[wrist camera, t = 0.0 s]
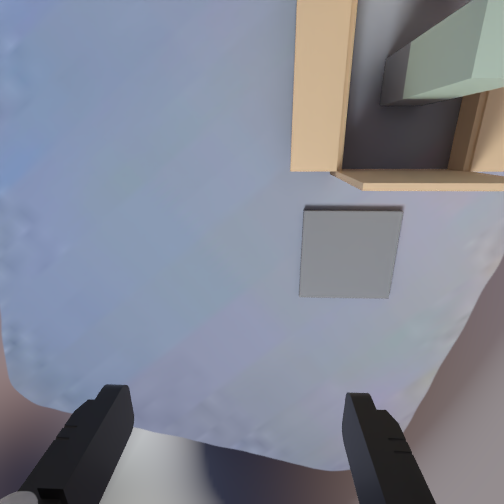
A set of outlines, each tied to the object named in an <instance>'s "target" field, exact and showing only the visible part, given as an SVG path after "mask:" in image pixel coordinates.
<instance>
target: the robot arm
mask: <svg viewBox="0 0 504 504" xmlns="http://www.w3.org/2000/svg"><path fill="white" fill-rule="evenodd" d="M133 424H134V412H133V407H132V402H131V396H130V391H129V387H128V386H127V385H109V384H107V385H105V386H104V387H103V388H102V389H101V391H100V392H99V394H98V395H97V397H96V399H95V400H89V399H88V400H87V401H86V402H85V403H84V404H82V405H81V406H80V407H79V408H78V409H77V410H75V411H74V413H73V414H72V415H71V417H70V418H69V420H68V421H67V422H66V424H65V427H64V428H62V430H61V431H60V433H59V434H58V435H57V437H56V440H54V441H53V442H52V444H51V445H50V447H49V448H48V450H47V451H46V452H45V454H44V455H43V457H42V458H41V459H40V461H39V462H38V464H37V465H36V466H35V468H34V469H33V471H32V472H31V474H30V475H29V476H28V478H27V479H26V481H25V482H24V483H23V485H22V486H21V488H20V489H19V490H18V491H17V492H15V493H12V494H10V495H8V496H6V497H4V498H2V499H1V500H0V504H99V502H100V500H101V498H102V496H103V494H104V492H105V489H106V487H107V485H108V483H109V481H110V479H111V476H112V474H113V472H114V470H115V467H116V465H117V463H118V461H119V459H120V457H121V455H122V452H123V450H124V448H125V446H126V444H127V441H128V439H129V437H130V435H131V432H132V429H133ZM342 435H343V441H344V446H345V450H346V453H347V457H348V461H349V465H350V469H351V473H352V477H353V480H354V485H355V488H356V492H357V496H358V500H359V504H436V503H435V501H434V498H433V496H432V494H431V492H430V490H429V488H428V486H427V484H426V481H425V479H424V477H423V475H422V473H421V471H420V469H419V467H418V464H417V462H416V460H415V458H414V456H413V455H412V452H411V449H410V447H409V445H408V443H407V442H406V439H405V437H404V435H403V432H402V430H401V428H400V426H399V424H398V422H397V421H396V420H395V419H394V418H393V417H392V416H391V415H390V414H389V413H388V412H387V411H386V410H376V408H375V405H374V403H373V400H372V398H371V396H370V394H369V393H347V394H346V399H345V406H344V413H343V421H342Z"/></svg>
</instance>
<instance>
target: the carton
mask: <svg viewBox="0 0 504 504" xmlns="http://www.w3.org/2000/svg"><path fill="white" fill-rule="evenodd" d="M357 3H358V0H297V12H296V38H295V64H294V89H293V115H292V141H291V167H290V171H330V174H331V175H333V176H335V177H337V178H339V179H341V180H343V181H345V182H347V183H348V184H350V185H352V186H354V187H356V188H358V189H360V190H362V191H504V176H497V175H490V174H484V173H477V172H470V171H492V172H504V87H502V88H497V89H493V90H488V91H484V92H480V93H475V94H471V95H466V96H463V97H462V102H461V106H460V111H459V116H458V121H457V125H456V130H455V135H454V139H453V144H452V149H451V154H450V158H449V163H448V168H447V169H342V160H343V150H344V139H345V129H346V118H347V108H348V97H349V87H350V76H351V66H352V55H353V45H354V34H355V24H356V13H357Z"/></svg>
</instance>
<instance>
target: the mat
mask: <svg viewBox="0 0 504 504" xmlns="http://www.w3.org/2000/svg"><path fill="white" fill-rule="evenodd" d="M402 216H403V211H396V210H304V214H303V232H302V249H301V267H300V285H299V297H317V298H375V299H388V298H389V292H390V286H391V280H392V275H393V269H394V263H395V257H396V251H397V245H398V240H399V234H400V228H401V222H402Z"/></svg>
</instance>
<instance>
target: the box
mask: <svg viewBox="0 0 504 504" xmlns="http://www.w3.org/2000/svg"><path fill="white" fill-rule="evenodd" d="M502 87H504V0H472V1H470V2H469V3H468V4H466V5H465V6H463V7H462V8H460V9H459V10H457V11H456V12H454V13H453V14H451V15H450V16H448V17H447V18H445V19H444V20H443V21H441V22H440V23H438V24H437V25H435V26H434V27H432V28H431V29H429V30H428V31H426V32H425V33H423V34H422V35H420V36H419V37H418V38H416V39H415V40H413V41H412V42H410V43H409V44H407V45H406V46H404V47H403V48H401V49H400V50H398V51H397V52H395V53H394V54H393V55H391V56H390V57H388V58H387V59H386V61H385V69H384V76H383V84H382V92H381V100H380V106H422V105H426V104H431V103H435V102H440V101H444V100H448V99H453V98H457V97H462V96H466V95H471V94H475V93H480V92H484V91H488V90H493V89H497V88H502Z"/></svg>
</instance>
